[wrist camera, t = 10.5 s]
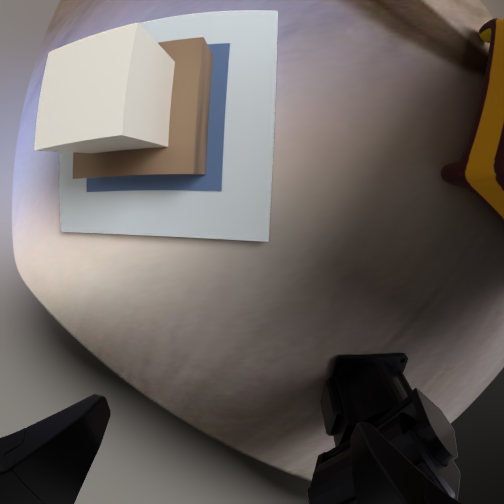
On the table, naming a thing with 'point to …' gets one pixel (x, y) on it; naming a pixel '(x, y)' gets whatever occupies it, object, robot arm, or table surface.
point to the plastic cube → (106, 94)
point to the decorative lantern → (486, 131)
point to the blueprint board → (239, 154)
